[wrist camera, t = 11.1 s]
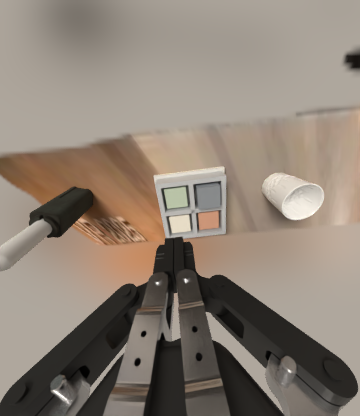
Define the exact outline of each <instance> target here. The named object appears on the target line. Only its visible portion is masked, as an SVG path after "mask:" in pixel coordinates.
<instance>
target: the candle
mask: <svg viewBox="0 0 360 416" xmlns="http://www.w3.org/2000/svg"><path fill="white" fill-rule="evenodd" d="M92 205H93V199H92V192H91V191H90V190H89V189H81V188H76V187H72V188H70V189H69V190H67V191H65V192H64V193H62V194H60V195H59V196H57V197H55V198H54V199H52V200H50V201H49V202H47V203H46V204H44V205H42V206H41V207H39V208H37V209H36V210H34V211H32V212H31V213H30V221H29V227H28V228H26V229H24V230H23V231H22V232H21V233H19V234H18V235H16V236H15V237H13V238H12V239H10V240H9V241H7V242H6V243H4V244H3V245H2V246H0V271H3V270H7V269H9V268H10V267H11V266H13V265H14V264H15V263H16V262H17V261H19V260H20V259H21V258H22V257H23V256H24V255H25V254H27V253H28V252H29V251H30V250H31V249H32V248H34V247H35V246H36V245H37V244H38V243H39V242H40V241H42V240H43V239H44V238H45V237H46V236H47V237H48V238H50V237H60V236H62V235H63V234H64V233H65V232H66V231H67V230H68V229H69V228H70V227H71V226H72V225H73V224H74V223H75V222H76V221H77V220H78V219H79V218H80V217H81V216H82V215H83V214H84V213H85V212H86V211H87V210H88V209H89V208H90V207H91V206H92Z"/></svg>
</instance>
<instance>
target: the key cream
mask: <svg viewBox="0 0 360 416" xmlns="http://www.w3.org/2000/svg"><path fill="white" fill-rule="evenodd" d="M169 220H170V225H171V231H172V233H179V232H187V231H191V228H190V219H189V214H182V215H174V216H169Z"/></svg>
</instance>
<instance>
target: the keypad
mask: <svg viewBox="0 0 360 416" xmlns="http://www.w3.org/2000/svg"><path fill="white" fill-rule="evenodd" d="M154 181H155V187H156V192H157V196H158V201H159V206H160V211H161V216H162V221H163V226H164V231H165V235H166V238H173V237H181V236H183V239H185V238H193V237H202V236H211V235H220V234H226V175H225V174H224V166H221V167H214V168H206V169H198V170H190V171H183V172H175V173H167V174H159V175H154ZM216 181H217V182H218V184H219V185H220V198H221V207H217V208H208V209H200V210H199V209H198V205H197V198H196V187H195V184H200V183H208V182H216ZM184 185H185V186H186V194H187V203H188V206H187V207H179V208H171V209H167V204H166V198H165V193H164V188H168V187H176V186H184ZM216 210H218V211H219V228H212V229H204V230H200V229H199V225H198V216H197V213H199V212H207V211H216ZM182 214H189V219H190V228H191V231H187V232H179V233H172V231H171V225H170V220H169V216H174V215H182Z"/></svg>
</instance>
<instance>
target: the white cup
mask: <svg viewBox="0 0 360 416" xmlns="http://www.w3.org/2000/svg"><path fill="white" fill-rule="evenodd" d="M262 193H263V194H264V196H265V197H266V198H267V199H268V200H269V201H270V202H271V203H272V204H273V205H274V206H275V207H276V208H277V209H278V210H279V211H280V212H281V213H282V214H283V215H284V216H285V217H286V218H288V219H291V220H302V219H305V218H307V217H309V216H311V215H312V214H314V213H315V212H316V211H317V210H318V209H319V208H320V206H321V205H322V203H323V200H324V192H323V189H322V188H321V187H320V186H318V185H316V184H313V183H311V182H308V181H305V180H303V179H300V178H297V177H294V176H291V175H287V174H284V173H274V174H272V175H270V176H269V177H268V178H266V179H265V180H264V183H263V185H262Z"/></svg>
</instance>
